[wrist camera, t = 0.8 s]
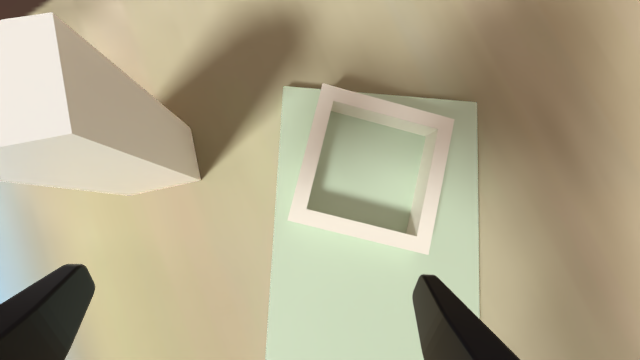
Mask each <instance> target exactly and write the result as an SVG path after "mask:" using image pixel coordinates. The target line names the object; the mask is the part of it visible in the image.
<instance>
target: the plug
mask: <svg viewBox="0 0 640 360" xmlns="http://www.w3.org/2000/svg"><path fill="white" fill-rule="evenodd" d="M0 181H2V182H11V183H20V184H29V185H38V186H47V187H56V188H65V189H74V190H82V191H91V192H100V193H109V194H118V195H127V196H131V195H136V194H140V193H145V192H150V191H154V190H159V189H164V188H168V187H173V186H178V185H182V184H187V183H192V182H196V181H201V178H200V173H199V168H198V163H197V158H196V152H195V147H194V142H193V137H192V132H191V128H190V127H189V126H188V125H186V124H185V123H184V122H183V121H182V120H180V119H179V118H178V117H177V116H176V115H174V114H173V113H172V112H171V111H170V110H168V109H167V108H166V107H165V106H164V105H163V104H161V103H160V102H159V101H158V100H157V99H155V98H154V97H153V96H152V95H151V94H149V93H148V92H147V91H146V90H145V89H143V88H142V87H141V86H140V85H139V84H137V83H136V82H135V81H134V80H133V79H131V78H130V77H129V76H128V75H127V74H125V73H124V72H123V71H122V70H121V69H119V68H118V67H117V66H116V65H115V64H114V63H112V62H111V61H110V60H109V59H108V58H106V57H105V56H104V55H103V54H102V53H100V52H99V51H98V50H97V49H96V48H94V47H93V46H92V45H91V44H90V43H88V42H87V41H86V40H85V39H84V38H82V37H81V36H80V35H79V34H78V33H76V32H75V31H74V30H73V29H72V28H71V27H69V26H68V25H67V24H66V23H65V22H63V21H62V20H61V19H60V18H59V17H57V16H56V15H55V14H54V13H53V12H51V13H44V14H38V15H31V16H24V17H17V18H10V19H4V20H0Z"/></svg>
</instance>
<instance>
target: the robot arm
mask: <svg viewBox="0 0 640 360" xmlns="http://www.w3.org/2000/svg"><path fill="white" fill-rule="evenodd" d="M94 291H95V284H94V282H93V280H92V278H91V276H90V273H89V271H88V269H87V268H86V266H84V265H82V264H66V265H63V266H61V267H60V268H58V269H56V270H55V271H53V272H52V273H50V274H48V275H47V276H45V277H44V278H42V279H40V280H39V281H37V282H36V283H34V284H32V285H31V286H29V287H27V288H26V289H24V290H23V291H21V292H19V293H18V294H16V295H15V296H13V297H11V298H10V299H8V300H7V301H5V302H3V303H2V304H0V360H65V358H66V356H67V354H68V352H69V350H70V348H71V345H72V343H73V341H74V339H75V336H76V334H77V332H78V329H79V327H80V325H81V322H82V320H83V318H84V315H85V313H86V311H87V308H88V306H89V304H90V301H91V299H92V297H93V294H94ZM412 300H413V306H414V311H415V317H416V322H417V328H418V333H419V339H420V344H421V349H422V354H423V358H424V360H520V359H519V358H518V357H517V356H516V355H515V354H514V353H513V352H512V351H511V350H510V349H509V348H508V347H507V346H506V345H505V344H504V343H503V342H502V341H501V340H500V339H499V338H498V337H497V336H496V335H495V334H494V333H493V332H492V331H491V330H490V329H489V328H488V327H487V326H486V325H485V324H484V323H483V322H482V321H481V320H480V319H479V318H478V317H477V316H476V315H475V314H474V313H473V312H472V311H471V310H470V309H469V308H468V307H467V306H466V305H465V304H464V303H463V302H462V301H461V300H460V299H459V298H458V297H457V296H456V295H455V294H454V293H453V292H452V291H451V290H450V289H449V288H448V287H447V286H446V285H445V284H444V283H443V282H442V281H441V280H440V279H439V278H438V277H437V276H435V275H430V274H422V275H420V276H419V278H418V281H417V283H416V285H415V288H414V290H413V294H412Z"/></svg>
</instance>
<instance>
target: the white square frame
mask: <svg viewBox="0 0 640 360" xmlns="http://www.w3.org/2000/svg"><path fill="white" fill-rule="evenodd" d="M331 111H333V112H337V113H340V114H344V115H348V116H351V117H355V118H359V119H363V120H366V121H370V122H374V123H377V124H381V125H385V126H389V127H392V128H396V129H400V130H403V131H407V132H411V133H415V134H418V135H422V136H426V138H425V143H424V148H423V153H422V157H421V162H420V167H419V172H418V177H417V182H416V187H415V192H414V197H413V202H412V206H411V211H410V216H409V221H408V226H407V231H406V234H405V233H401V232H397V231H393V230H389V229H385V228H381V227H377V226H373V225H369V224H365V223H361V222H357V221H353V220H349V219H345V218H341V217H337V216H333V215H329V214H325V213H321V212H317V211H313V210H309V209H307V205H308V201H309V197H310V193H311V189H312V185H313V181H314V177H315V173H316V169H317V165H318V161H319V157H320V153H321V148H322V144H323V140H324V136H325V132H326V128H327V124H328V120H329V116H330V112H331ZM454 120H455V119H452V118H448V117H444V116H441V115H437V114H433V113H430V112H426V111H422V110H419V109H415V108H411V107H408V106H404V105H401V104H397V103H393V102H390V101H386V100H382V99H379V98H375V97H371V96H368V95H364V94H360V93H357V92H353V91H349V90H346V89H342V88H339V87H335V86H331V85H328V84H324V83H323V84H322V88H321V91H320V95H319V99H318V103H317V107H316V111H315V115H314V119H313V123H312V126H311V130H310V134H309V138H308V142H307V146H306V150H305V154H304V158H303V162H302V165H301V169H300V173H299V177H298V181H297V185H296V189H295V193H294V197H293V200H292V204H291V208H290V212H289V216H288V220H287V221H292V222H296V223H300V224H304V225H308V226H312V227H316V228H320V229H324V230H328V231H332V232H336V233H340V234H345V235H349V236H353V237H357V238H361V239H365V240H369V241H373V242H377V243H381V244H385V245H389V246H393V247H397V248H402V249H406V250H410V251H414V252H418V253H422V254H426V255H429V250H430V244H431V239H432V234H433V229H434V224H435V218H436V213H437V208H438V203H439V198H440V193H441V187H442V182H443V177H444V172H445V167H446V161H447V156H448V151H449V146H450V141H451V135H452V130H453V125H454Z"/></svg>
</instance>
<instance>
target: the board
mask: <svg viewBox="0 0 640 360" xmlns="http://www.w3.org/2000/svg"><path fill="white" fill-rule="evenodd" d="M320 91H321V89H313V88H301V87H289V86H283V98H282V114H281V129H280V144H279V159H278V175H277V190H276V205H275V220H274V235H273V251H272V266H271V281H270V296H269V312H268V327H267V342H266V357H265V360H424V358H423V354H422V349H421V344H420V339H419V333H418V328H417V322H416V317H415V311H414V306H413V300H412V294H413V290H414V288H415V285H416V283H417V281H418V278H419V276H420V275H422V274H430V275H435V276H437V277H438V278H439V279H440V280H441V281H442V282H443V283H444V284H445V285H446V286H447V287H448V288H449V289H450V290H451V291H452V292H453V293H454V294H455V295H456V296H457V297H458V298H459V299H460V300H461V301H462V302H463V303H464V304H465V305H466V306H467V307H468V308H469V309H470V310H471V311H472V312H473V313H474V314H475V315H476V316H477V317H478V318H479V319H480V310H479V223H478V136H477V102H469V101H457V100H445V99H433V98H421V97H409V96H397V95H385V94H373V93H361V92H357V93H360V94H364V95H368V96H371V97H375V98H379V99H382V100H386V101H390V102H393V103H397V104H401V105H404V106H408V107H411V108H415V109H419V110H422V111H426V112H430V113H433V114H437V115H441V116H444V117H448V118H452V119H455V120H454V125H453V130H452V135H451V141H450V146H449V151H448V156H447V161H446V167H445V172H444V177H443V182H442V187H441V193H440V198H439V203H438V208H437V213H436V218H435V224H434V229H433V234H432V239H431V244H430V250H429V255H426V254H422V253H418V252H414V251H410V250H406V249H402V248H397V247H393V246H389V245H385V244H381V243H377V242H373V241H369V240H365V239H361V238H357V237H353V236H349V235H345V234H340V233H336V232H332V231H328V230H324V229H320V228H316V227H312V226H308V225H304V224H300V223H296V222H292V221H287V220H288V216H289V212H290V208H291V204H292V200H293V197H294V193H295V189H296V185H297V181H298V177H299V173H300V169H301V165H302V162H303V158H304V154H305V150H306V146H307V142H308V138H309V134H310V130H311V126H312V123H313V119H314V115H315V111H316V107H317V103H318V99H319V95H320ZM425 138H426V136H422V135H418V134H415V133H411V132H407V131H403V130H400V129H396V128H392V127H389V126H385V125H381V124H377V123H374V122H370V121H366V120H363V119H359V118H355V117H351V116H348V115H344V114H340V113H337V112H333V111H331V112H330V116H329V120H328V124H327V128H326V132H325V136H324V140H323V144H322V148H321V153H320V157H319V161H318V165H317V169H316V173H315V177H314V181H313V185H312V189H311V193H310V197H309V201H308V205H307V209H309V210H313V211H317V212H321V213H325V214H329V215H333V216H337V217H341V218H345V219H349V220H353V221H357V222H361V223H365V224H369V225H373V226H377V227H381V228H385V229H389V230H393V231H397V232H401V233H405V234H406V231H407V226H408V221H409V216H410V211H411V206H412V202H413V197H414V192H415V187H416V182H417V177H418V172H419V167H420V162H421V157H422V153H423V148H424V143H425Z"/></svg>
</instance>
